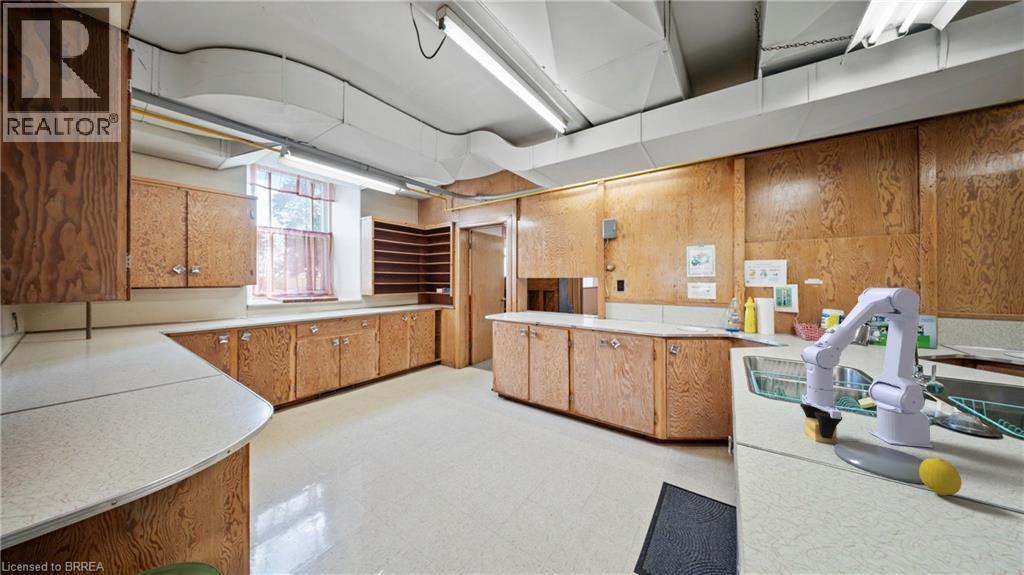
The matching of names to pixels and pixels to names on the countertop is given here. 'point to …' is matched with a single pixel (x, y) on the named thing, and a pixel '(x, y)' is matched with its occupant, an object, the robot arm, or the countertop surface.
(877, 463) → the plate
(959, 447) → the countertop surface
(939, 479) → the lemon
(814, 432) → the cube
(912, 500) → the countertop surface
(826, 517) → the countertop surface
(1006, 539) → the countertop surface
